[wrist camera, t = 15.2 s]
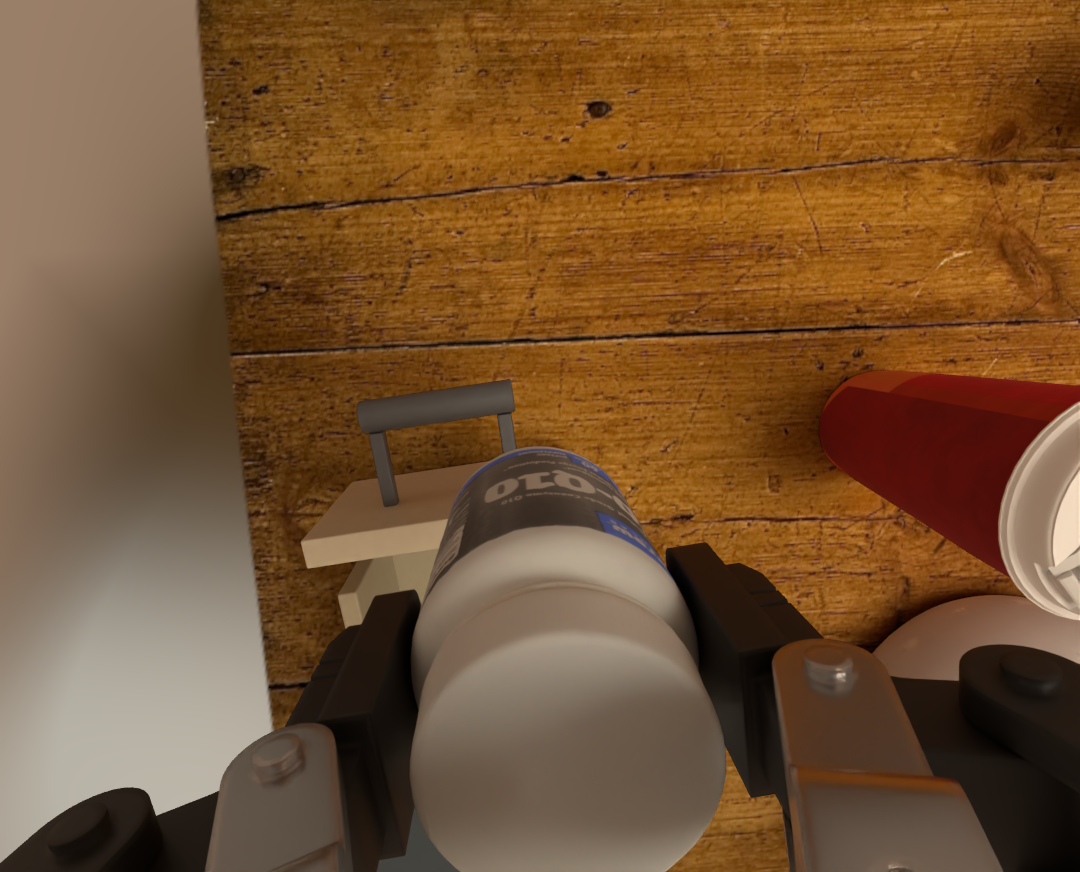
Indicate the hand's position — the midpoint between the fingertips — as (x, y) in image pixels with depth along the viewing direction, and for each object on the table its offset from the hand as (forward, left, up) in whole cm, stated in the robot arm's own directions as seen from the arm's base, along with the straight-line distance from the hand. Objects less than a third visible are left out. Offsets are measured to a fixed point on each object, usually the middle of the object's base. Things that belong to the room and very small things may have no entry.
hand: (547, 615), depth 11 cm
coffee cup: (+19, +4, -21) cm, 29 cm away
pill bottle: (0, 0, -5) cm, 5 cm away
